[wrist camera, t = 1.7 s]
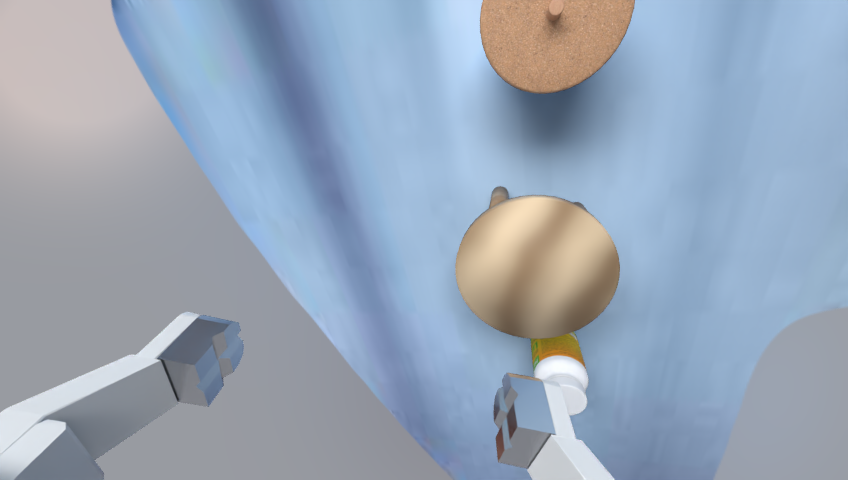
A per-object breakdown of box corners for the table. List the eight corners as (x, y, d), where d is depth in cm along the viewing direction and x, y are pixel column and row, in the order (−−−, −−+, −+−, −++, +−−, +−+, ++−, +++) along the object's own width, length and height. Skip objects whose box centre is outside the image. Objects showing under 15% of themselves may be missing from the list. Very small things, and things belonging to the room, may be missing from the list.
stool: (611, 190, 34) (648, 220, 25) (567, 299, 40) (585, 355, 31) (481, 165, 36) (472, 183, 27) (457, 271, 42) (443, 316, 33)
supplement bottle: (526, 321, 42) (531, 380, 33) (573, 317, 41) (592, 378, 31) (534, 356, 44) (540, 421, 35) (578, 353, 42) (598, 421, 33)
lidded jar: (624, -31, 28) (676, -93, 19) (583, 103, 32) (610, 101, 23) (499, -39, 29) (495, -100, 21) (476, 89, 34) (465, 82, 25)
